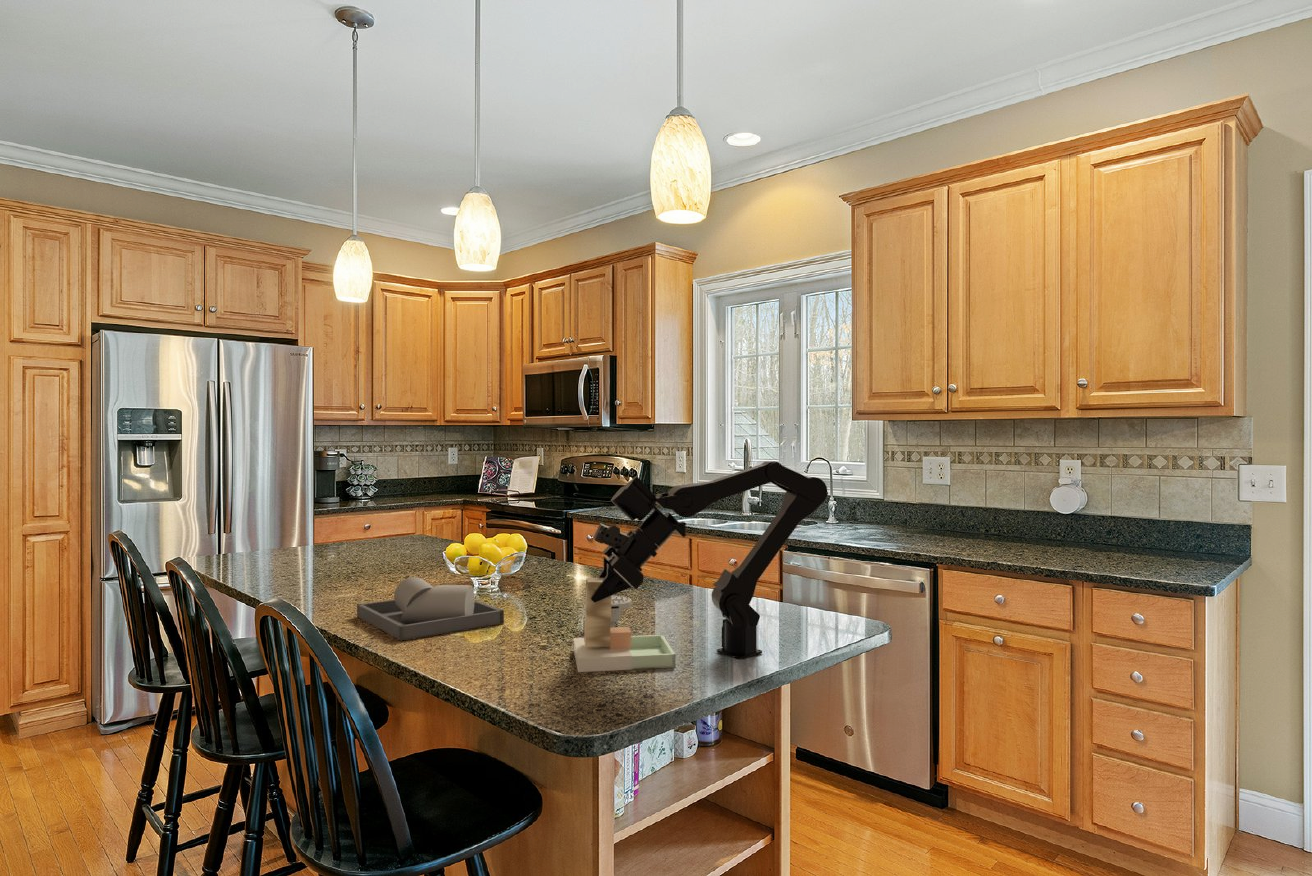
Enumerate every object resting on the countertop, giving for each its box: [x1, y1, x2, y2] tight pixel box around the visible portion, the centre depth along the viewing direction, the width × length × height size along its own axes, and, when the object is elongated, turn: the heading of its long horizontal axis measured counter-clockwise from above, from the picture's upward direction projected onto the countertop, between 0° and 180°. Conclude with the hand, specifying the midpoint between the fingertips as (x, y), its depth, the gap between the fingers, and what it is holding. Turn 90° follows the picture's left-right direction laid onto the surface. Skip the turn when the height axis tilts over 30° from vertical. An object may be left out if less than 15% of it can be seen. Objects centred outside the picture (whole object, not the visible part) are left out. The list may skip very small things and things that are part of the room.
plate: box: [573, 637, 633, 673], centre depth 145 cm, size 10×14×2 cm
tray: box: [629, 634, 677, 671], centre depth 147 cm, size 8×14×2 cm, turn 9°
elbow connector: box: [393, 576, 475, 623], centre depth 176 cm, size 18×10×20 cm
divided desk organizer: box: [356, 599, 505, 642], centre depth 176 cm, size 27×24×3 cm
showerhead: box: [610, 594, 632, 628], centre depth 169 cm, size 9×7×10 cm
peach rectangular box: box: [609, 626, 632, 649], centre depth 146 cm, size 4×4×3 cm
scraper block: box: [583, 577, 612, 647], centre depth 145 cm, size 4×4×12 cm
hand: (591, 598), depth 145 cm, fingers closed on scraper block, 4 cm apart
